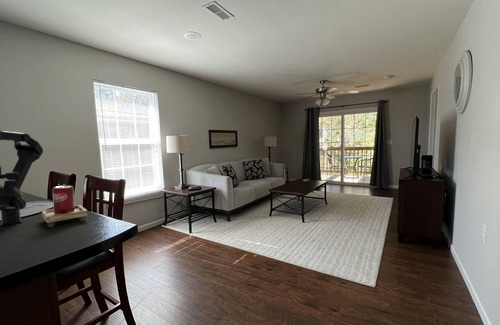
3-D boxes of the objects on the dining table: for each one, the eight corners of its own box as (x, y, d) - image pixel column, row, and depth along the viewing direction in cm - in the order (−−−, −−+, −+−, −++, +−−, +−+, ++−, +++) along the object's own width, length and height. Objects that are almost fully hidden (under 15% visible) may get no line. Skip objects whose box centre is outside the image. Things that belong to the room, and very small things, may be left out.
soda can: (63, 216, 100) (61, 188, 99) (49, 214, 102) (48, 187, 101) (78, 211, 107) (77, 185, 106) (66, 210, 109) (64, 185, 108)
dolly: (42, 221, 104) (41, 210, 104) (80, 214, 115) (79, 204, 114) (47, 228, 95) (46, 217, 95) (87, 220, 105) (87, 210, 105)
